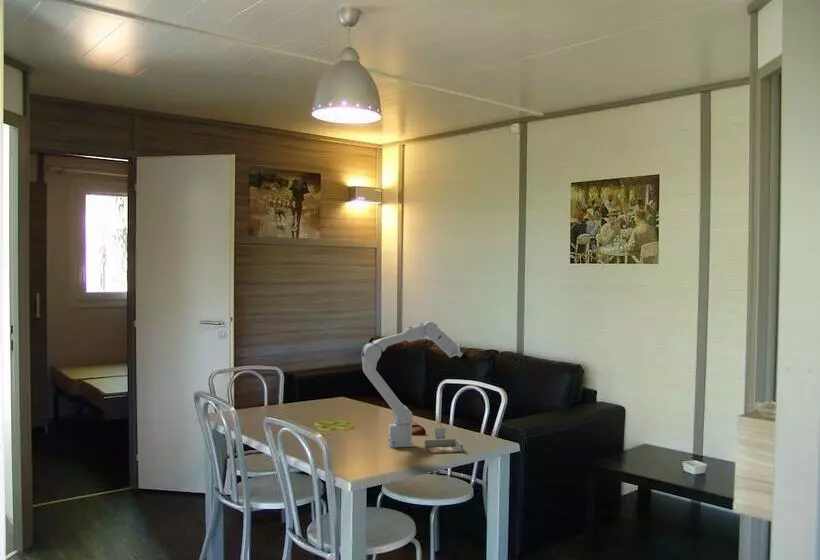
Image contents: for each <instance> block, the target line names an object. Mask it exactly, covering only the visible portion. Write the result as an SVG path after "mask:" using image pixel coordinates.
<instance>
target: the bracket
mask: <svg viewBox="0 0 820 560" xmlns="http://www.w3.org/2000/svg"><path fill="white" fill-rule="evenodd" d="M431 439H446V427H445V426H444V427H435V428H434V436H432V438H431Z"/></svg>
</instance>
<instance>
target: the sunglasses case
mask: <svg viewBox="0 0 820 560" xmlns="http://www.w3.org/2000/svg"><path fill="white" fill-rule="evenodd" d="M411 421H412V435H414V436H424V435H423V434H425V435H426V434H427V431H426V429H425V428H424V426H423V425H420V424H419V423H417V422H416V421H415V420H413V419H412V420H411Z"/></svg>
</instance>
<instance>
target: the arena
mask: <svg viewBox="0 0 820 560" xmlns="http://www.w3.org/2000/svg"><path fill="white" fill-rule="evenodd" d="M424 449H425V450H426V451H427V452H428V453H429V454H430V455H435V454H436V455H438V454H437V453H442V454H454V453H453V452H462V451H460V450H459V449H458V448H457V447H456V446H455V445H450V446H427V447H425V446H424Z"/></svg>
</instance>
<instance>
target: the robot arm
mask: <svg viewBox="0 0 820 560" xmlns="http://www.w3.org/2000/svg"><path fill="white" fill-rule="evenodd" d="M426 337H428V338H429V339H430V340H431V341H432V343H434V344H435V345H436V346H437V347H438V348H440V349H441V351H443V352H444V353H445V354H446V355H447V356H448V357H449V359H451V360H454V361H455V362H458V363H460V364H461V365H463V366H466V367H467V368H469V369H471V368H473V366H474V363H473V361H472V360H471V358H470V357H469V356H468V353H467V351H466V350H465V349H464V350H463V351H462V350H461V345H462V344H461V343H460V342H458V343H456V342H455V341H454V340H453V339H451V337H450V336H448V335H447V334H446V333H445V332H444V331H443V330H441V328H439V327H438V324H436V323H435V322H433V321H429V320H428V321H423V322H420V323H419V324H416V325H413V326H412V325H408V326H407V327H406V328H405V329H404V331H403V332H400V333H397V334H394V335H393V334H392V335H388V336H385V337H382V338H379V339H375V340H373V341H372V342H368V343H366V344H365V345H363V347H362V350H361V363H362V365H361V366H362V371H363V373H364V375H365V376H366V377H367V379H368V380H369V382H370V383H371V384H372V385H373V386H374V388H375V389H376V390H377V392H378V393H379V394H380V395H381V397H382V398H383V399H384V401H385V402H386V403H387V404H388V406H389V407H390V409H391V410H392V412H393V416H394V417H395V419H394V421H393V422H392V423H389V424H388V427H387V428H388V429H387V433H388V434H387V444H388V445H389V447H390V448H391V449H393V448H395V449H396V448H412V447H413V448H414V447H415V445H414V444H413V441H412V440H413V438H412V437H413V436H412V421H411V420H413V416H414V415H413V412H412V411H411V410H410V409H409V408H408V406H406V405H404V404H403V403H402V402H401V401H400V399H399V398H398V397H397V395H396V394H395V393H394V391H393V390H392V389H391V387H390V386H389V385H388V384H387V382H386V381H385V380H384V378H383V377H382V376H381V375H380V373H379V372H378V371H377V365H378V362H379V359H380V358H381V356H382V352H385V351H386V350H387V348H388V347H391V346H393V345H395V344H399V343H400V342H404V341H407V342H408V343H412V342H414V341H417V340H421V339H424V338H426Z"/></svg>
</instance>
